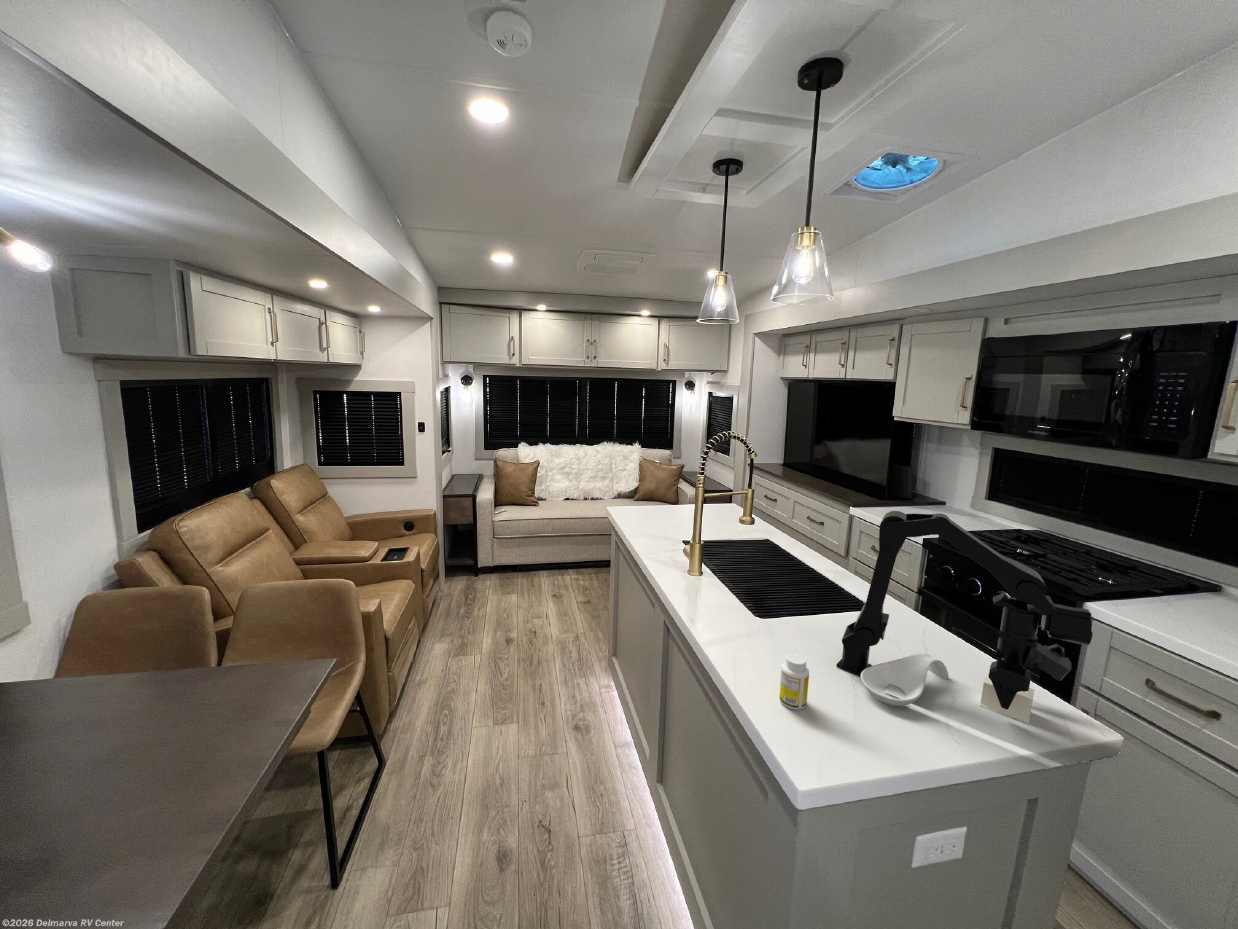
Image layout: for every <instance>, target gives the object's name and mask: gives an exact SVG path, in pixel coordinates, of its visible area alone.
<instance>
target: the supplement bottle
mask: <svg viewBox="0 0 1238 929" xmlns="http://www.w3.org/2000/svg"><path fill="white" fill-rule="evenodd" d="M809 680H810V670H809V668H808V667H807V659H806V658H805V657H804V656H802V655H800V654H795V653H790V654H787V655H786V658H785V662H784V663H782V665H781V674H780V687H779V701H780V703H781V704H782V705H783V706H784V707H786V708H788V709H791V710H799V711H800V710H803V709H805V708H806V707H807V704H808V691H809Z"/></svg>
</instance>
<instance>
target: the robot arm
mask: <svg viewBox="0 0 1238 929" xmlns="http://www.w3.org/2000/svg"><path fill="white" fill-rule="evenodd" d="M878 531H879V534H878V545H879V546H878V555H877V558H876V562H875V566H874V570H873V573H872V578H871V581H870V584H869V589H868V594H867V596H866V601H865V603H864V604H863V606H862V608H861V610H860V612H859V614H858V616H857V618H856V620H855V621H854V622H851V623H850V624H848V625H847V626H846V627H845V631H844V633H843V636H842V638H841V643H842V654H841V659H840V660H839V661H837V663H836V667H837V668H839V669H842V670H844V671H846V672H849V673H851V674H854V675H857V676H858V677H861V673H862V671H863V670H864V669H866V668H868V667H870V666H873V665H872V664H871V663H869V658H870V650H871V647H874V646H877V644H879V642H880V640H882V641H883V640H884V638H885V635H886V630H887V626H888V623H889V619H890V614H889V613H884V604H885V600H886V596H887V593H888V588H889V586H890V582H891V578H892V573H893V570H894V567H895V563H896V559H897V556H898V554H899V553H900V550H901V549H902V548H903V545H904V543H905V541H906V539H908V538H918V537H919V538H920V537H926V536H939V537H940V538H942V539H944V541H946V542H947V543H949V544H950V545H952V546H953V547H954V548H956V549H958V550H959V551H960V552H961V553H964V555H965V556H967V557H968V558H970V559H971V560H973V561H974V562H975V563H977V564H979V565H980V566H981V567H983V568H984V569H985V570H987V571H988V572H989V573H990V574H991V575H992V576H993V577H994V578H995V579H996V580H997V581H998V582H999V583H1000V585H1001V586H1002V587H1003V588H1004V589H1005V590H1006V591H1007V592H1008V593H1009V594H1010V595H1012V597H1010V596H1009V595H1008V594H1007V593H1006V592H1005V591H1003V592H1001V593H1000V594H997V595H994V596H993V597H992V601H993V604H994V605H995V606H998V607H1003V609H1002V610H1003V611H1002V615H1001V622H1000V623H1001V624H1000V628H999V632H998V636H997V637H998V640H997V646H996V649H995V650H996V651H995V656H996V657H997V660H995V661H992V662H991V664H990V666H989V672H988V674H989V678H990V680H991V682H992V684H993V686H994V689H995V692H996V694H997V697H998V700H999V702H1000V705H1001V707H1002V708H1004V709H1007V710H1008V709H1009V707H1010V705H1011V703H1012V701H1013V699H1014V697H1015V695H1016V694H1017V692H1020V691H1023V692H1026V691H1029V688H1030V685H1031V679H1032V674H1031V673H1030V672H1029V671H1028V670H1027V667H1028V668H1031V669H1034V666H1035V667H1037V668H1038V669H1040V670H1042V671H1043V672H1044V673H1046V674H1048V675H1050V676H1052V678H1053V679H1054V680H1056V681H1060V682H1061V681H1062V680H1063V679H1064V678H1065V677H1066V676H1067V675H1068V673H1070V671H1071V670H1072V662H1071V661H1070V659H1069V657H1065V647H1062V646H1061V645H1059V644H1057V643H1055V644H1051V645H1049V646H1047V645H1046V644H1045V645H1043V644H1041V643H1039V642H1038V640H1039V636H1037V634H1038V629H1039V623H1040V626H1041V630H1042V631H1044V632H1047V635H1048V637H1049V638H1052V639H1055V640H1056V639H1057V640H1061V641H1066V642H1070V643H1074V644H1079V645H1083V646H1089V645H1090V644H1091V643H1092V640H1093V635H1094V634H1093V631H1092V627H1093V626H1092V613H1091V612H1090V610H1089V609H1087V608H1084V607H1083V608H1082V607H1072V606H1066V605H1062V604H1057V603H1054V602H1053V600H1052V598H1051V596H1050V595H1047V592H1048V591H1047V586H1046V584H1045V581H1044V580H1043V578H1042V576H1041V575H1040V574H1039V573H1038V571H1036V570H1035V569H1033V568H1031V567H1029V566H1027V565H1025V564H1023V563H1021V562H1020V561H1017V560H1014V559H1012V558H1009V557H1006V556H1004V555H1003V554H1001V553H1000V552H998V551H996V550H995V549H993V548H992V547H991V546H989V545H987V544H986V543H985V542H984V541H982V540H981V539H979V538H978V537H976V536H975V535H973V534H972V533H970V532H969V531H968V530H966V529H965V528H963V527H962V526H960V525H959V524H957V522H954V521H953V520H951V518H950V517H949V516H948V515H946V514H944V513H939V512H938V513H931V514H929V513H904V512H903V511H900V510H892V511H891V510H890V511H888V512H886V513H885V514H884V515H883V517H882V519H881V521H880V524H879V529H878ZM1040 618H1041V619H1040ZM1040 621H1041V622H1040Z"/></svg>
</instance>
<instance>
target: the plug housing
mask: <svg viewBox="0 0 1238 929" xmlns="http://www.w3.org/2000/svg"><path fill="white" fill-rule="evenodd" d="M1034 695H1035V689H1034V688H1031V687H1029V691H1026V692H1023V691H1020V692H1017V694H1016V695H1015V697H1014V699H1013V701H1012V703H1011V705H1010V707H1009V709H1008V710H1007V709H1004V708H1002V707H1001V705H1000V702H999V700H998V697H997V694H996V692H995V689H994V686H993V684H992V682H991V680H990V678H989V673H986V675H985V677H984V680H983V684H982V690H981V697H980V703H979V705H980V704H983V705H986V706H988V707H991V708H994V709H996V710H999V711H1001V712H1004V713H1007V714H1009V715H1012V716H1015V717H1017V718H1020V719H1023V720H1025V721H1028V722H1029V723H1030V719H1031V713H1032V708H1033V702H1034Z"/></svg>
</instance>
